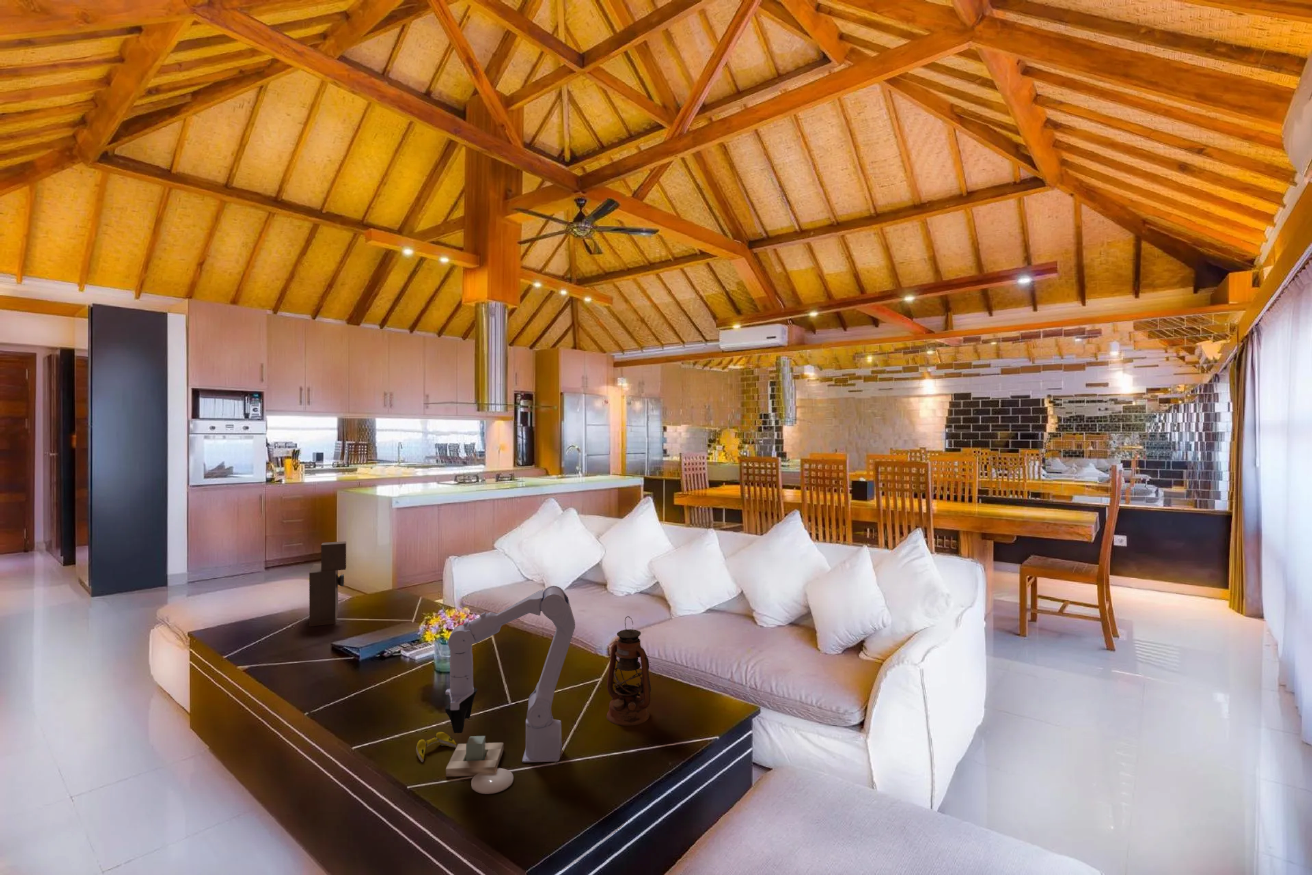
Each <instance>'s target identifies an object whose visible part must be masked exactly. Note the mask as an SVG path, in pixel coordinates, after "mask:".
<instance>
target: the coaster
mask: <svg viewBox="0 0 1312 875" xmlns="http://www.w3.org/2000/svg"><path fill="white" fill-rule="evenodd" d="M470 783H471V786H470V787H471V789H472V790H473V791H474V792H476V793H479V794H483V795H492V794H497V793H501V792H503V791H505V790H507V789H508V788H510V787H511V786H512V785H513V783H514V774H513V772H511V770H509V769H505V768H501V767H497V768H496V771H495V773H478V774H477V775H475V776H473V778H472V779H471V781H470Z"/></svg>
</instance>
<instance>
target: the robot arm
mask: <svg viewBox="0 0 1312 875" xmlns="http://www.w3.org/2000/svg"><path fill="white" fill-rule="evenodd" d="M541 613H542V614H543V615H544V616H545V617H546V618H547V619H549V620H550V621H552V624H553V625H554V627H555V631H554V634H553V638H552V641H551V644H550V647H549V649H548V651H547V652H548V653H547V656H546V658H545V660H544V664H543V668H542V671H541V675H540V677H539V679H538V680H539V681H538V682H537V683H536V686H535V689H534V690H533V692H532V693H531V694H530V695H529V696H528V700H527V704H528V706H527V711H526V719H525V750H524V753H523V756H522V760H521V761H522V763H545V762H550V763H551V762H559V761H560V757H561V752H562V751H561V750H563V749H562V748H563V741H562V720H559V719H554V716H553V714H552V704H553V700H554V695H555V691H556V690H555V689H556V687H557V685H558V681H559V679H560V675H561V671H562V669H563V666H564V664H565V660H566V657H567V654H568V650H569V647H570V644H571V640H572V638H573V636H574V632H575V629H576V621H575V617H574V614H573V610H572V607H571V604H570V599H569V597H568V595H567V594H566V593H565V591H564V590H563V588H561V587H560V586H557V585H550V586H548V587H546V588H545V589H541V590H538V591H536V592H534V593H532V594H531V595H528V596H527V597H526V598H523V599H521V600H520V601H518V602H516V603H514V604H513V605H510V606H508V607H507V608H504V609H503V610H502V611H500V612H497V613H495V612H493V611H489V612H486V611H484V612H482V613H480V616H479V617H478V618H475V619H473V620H471V621H469V622H468V621H465V622H464V623H463V624H460V625H457V626H455V627H454V629H453V630H452V631H451V634H449V638H448V640H447V646H448V648H449V653H450V657H449V686H450V687H449V688H447V689H446V690H445V696H446V695H447V696H448V695H449V699H450V702H449V703H450V704H446V705H445V708H444V710H445V713H446V715H447V716H448V718H449V720H450V723H451V727H452V731H453V734H463V732H464V727H465V720H468V719H470V718H471V714H472V709H473V704H474V701H475V698H476V697H475V696H476V694H477V693H478V688H477V687H474V659H473V658H474V654H473V645H474V644H478V643H480V642H482V641H484V640H486V639H488V638H490V637H492V636H494V635H496V634H497V633H499V632H500V631H501V627H502V626H503V625H506V624H508V623H510V622H512V621H515V620H517V619H519V618H522V617H524V616H527V615H528V614H532V615H536V616H541Z"/></svg>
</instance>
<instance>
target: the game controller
mask: <svg viewBox="0 0 1312 875" xmlns="http://www.w3.org/2000/svg"><path fill="white" fill-rule="evenodd" d="M438 743H439V744H440V746H441V747H443V746H447V747H450V748H456V747H457V745H458V743H456V741H455V739H454V738H453V737H451V736H450V735H449V734H447V733H445V732H443V731H438V732H436V734H435V736H434V737H433V738H430V739H427V740H425V739H422V738H421V739H420V740H418V741H417V742H416V748H415V752H416V754H417V758H418V760H420V762H421V763H424V759H425V752H426V748H428V747H430V746H431V745H434V744H438Z"/></svg>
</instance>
